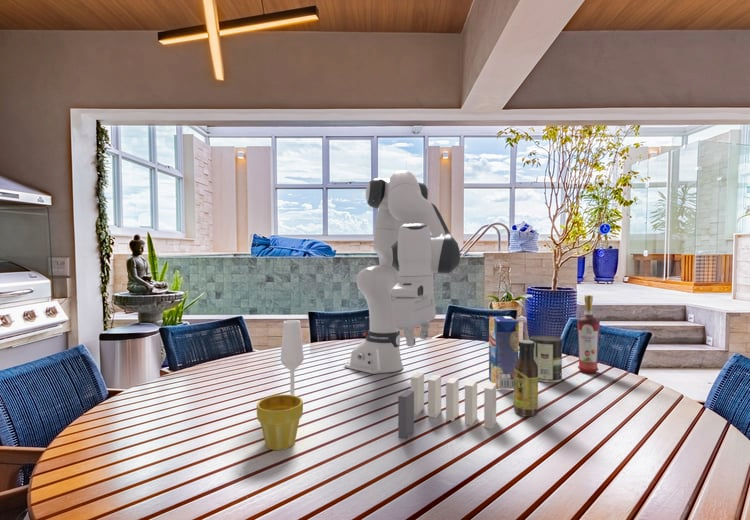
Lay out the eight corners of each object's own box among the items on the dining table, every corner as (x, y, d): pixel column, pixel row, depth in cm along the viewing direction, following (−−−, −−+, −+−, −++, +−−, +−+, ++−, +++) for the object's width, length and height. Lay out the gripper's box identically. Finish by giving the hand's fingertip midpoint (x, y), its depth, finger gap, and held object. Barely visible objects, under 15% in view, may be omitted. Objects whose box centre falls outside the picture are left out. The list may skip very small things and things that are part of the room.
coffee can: (554, 373, 151) (555, 335, 150) (567, 382, 140) (567, 341, 140) (526, 373, 151) (526, 334, 150) (536, 382, 140) (536, 341, 140)
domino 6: (484, 427, 105) (484, 388, 105) (488, 420, 110) (488, 382, 109) (492, 428, 104) (492, 389, 104) (496, 421, 109) (496, 383, 109)
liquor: (600, 370, 154) (600, 295, 153) (598, 375, 148) (599, 297, 147) (578, 367, 158) (578, 294, 157) (575, 372, 152) (576, 296, 151)
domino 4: (445, 419, 110) (445, 382, 110) (451, 413, 114) (451, 377, 114) (453, 421, 109) (453, 383, 109) (458, 414, 113) (458, 378, 113)
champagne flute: (308, 402, 123) (308, 321, 122) (289, 408, 118) (289, 324, 117) (295, 397, 127) (294, 318, 127) (276, 403, 122) (275, 321, 122)
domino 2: (410, 413, 114) (410, 377, 114) (417, 407, 119) (417, 372, 119) (417, 414, 114) (417, 378, 113) (424, 408, 118) (424, 373, 118)
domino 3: (428, 416, 112) (428, 379, 112) (434, 410, 117) (434, 374, 116) (435, 417, 111) (435, 380, 111) (441, 411, 116) (441, 375, 115)
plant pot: (280, 459, 89) (280, 414, 89) (247, 447, 95) (247, 404, 95) (312, 440, 98) (311, 399, 98) (280, 430, 104) (279, 391, 103)
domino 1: (398, 437, 100) (398, 395, 100) (406, 429, 104) (406, 389, 104) (406, 439, 99) (406, 397, 99) (414, 430, 103) (414, 390, 103)
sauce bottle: (510, 408, 118) (510, 338, 117) (532, 408, 118) (533, 338, 117) (518, 417, 111) (518, 343, 111) (541, 417, 111) (542, 343, 111)
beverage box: (509, 379, 144) (509, 316, 143) (518, 390, 133) (518, 321, 132) (488, 379, 144) (489, 316, 144) (496, 390, 133) (496, 321, 133)
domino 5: (464, 423, 108) (464, 385, 107) (469, 416, 112) (469, 379, 112) (472, 425, 107) (472, 386, 106) (477, 418, 111) (477, 380, 111)
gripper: (418, 284, 116) (420, 334, 116) (388, 290, 97) (390, 349, 97) (440, 284, 113) (442, 335, 113) (413, 290, 95) (415, 351, 95)
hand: (417, 342), depth 105 cm, fingers open, 8 cm apart
